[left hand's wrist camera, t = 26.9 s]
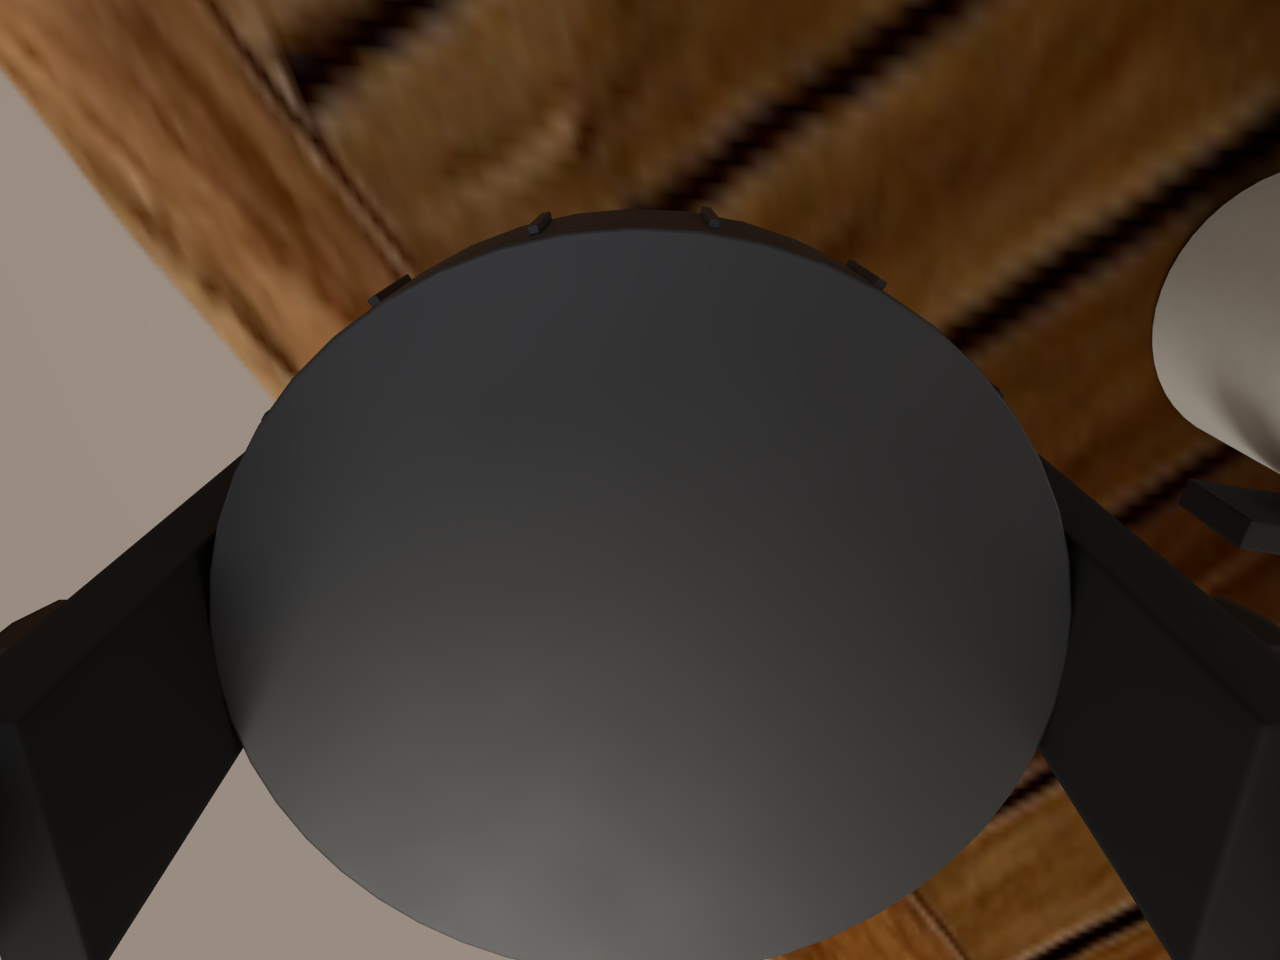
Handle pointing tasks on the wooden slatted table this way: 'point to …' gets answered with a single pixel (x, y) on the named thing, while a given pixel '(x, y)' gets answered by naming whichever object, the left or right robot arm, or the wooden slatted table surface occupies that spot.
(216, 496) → the left robot arm
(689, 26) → the wooden slatted table surface
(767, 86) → the wooden slatted table surface
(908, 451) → the lid
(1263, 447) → the jar
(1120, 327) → the wooden slatted table surface
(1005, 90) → the wooden slatted table surface
